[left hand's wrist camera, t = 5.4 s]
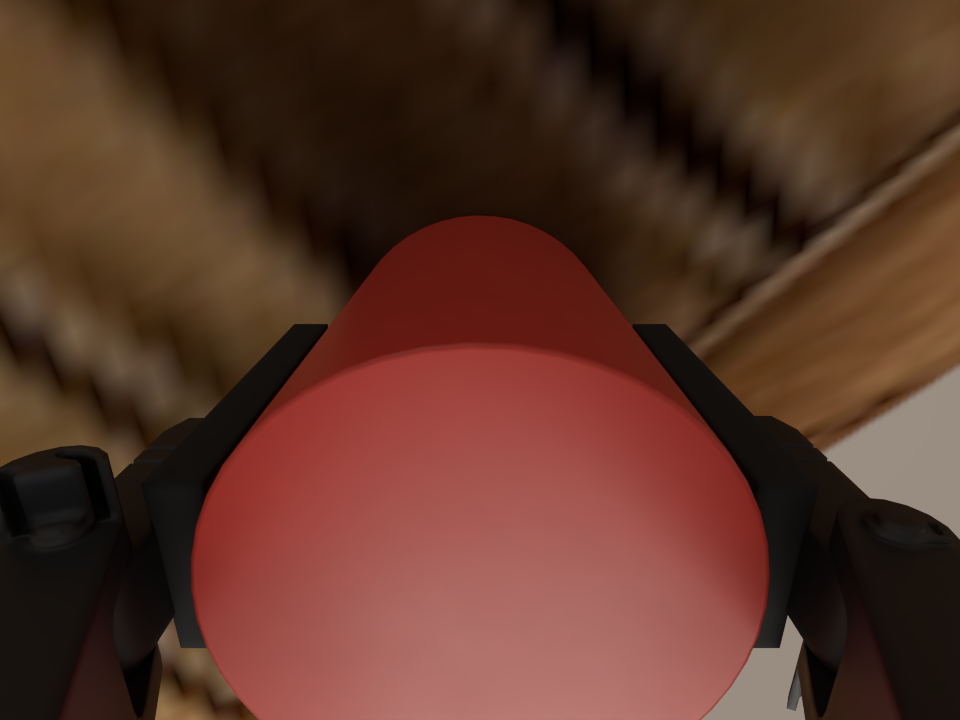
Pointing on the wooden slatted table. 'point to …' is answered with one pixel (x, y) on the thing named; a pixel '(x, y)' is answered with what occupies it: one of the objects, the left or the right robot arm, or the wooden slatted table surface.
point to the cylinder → (480, 508)
